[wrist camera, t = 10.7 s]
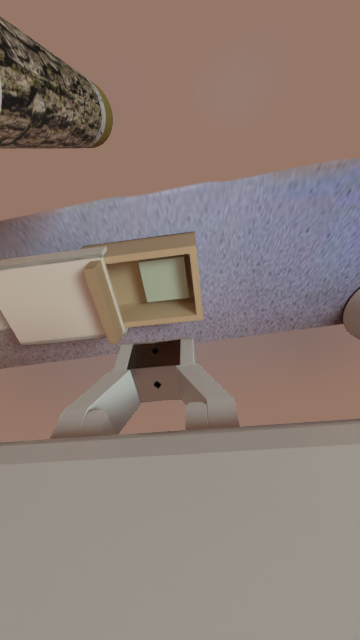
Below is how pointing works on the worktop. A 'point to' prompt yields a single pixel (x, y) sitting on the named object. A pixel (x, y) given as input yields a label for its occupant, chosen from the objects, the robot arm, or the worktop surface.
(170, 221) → the worktop surface
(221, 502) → the robot arm
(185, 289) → the tan open box
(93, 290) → the lid
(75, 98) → the bark textured cylinder
